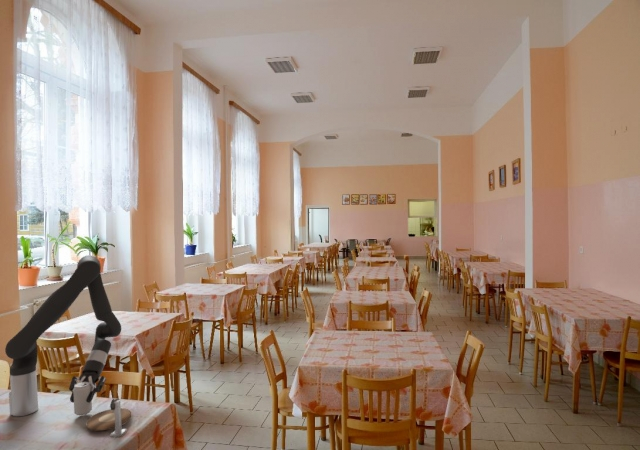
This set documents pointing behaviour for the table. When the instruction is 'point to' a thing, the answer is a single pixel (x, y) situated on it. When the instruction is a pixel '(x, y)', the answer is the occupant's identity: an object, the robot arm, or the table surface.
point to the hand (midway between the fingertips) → (80, 401)
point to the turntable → (107, 419)
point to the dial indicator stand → (117, 418)
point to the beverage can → (82, 398)
